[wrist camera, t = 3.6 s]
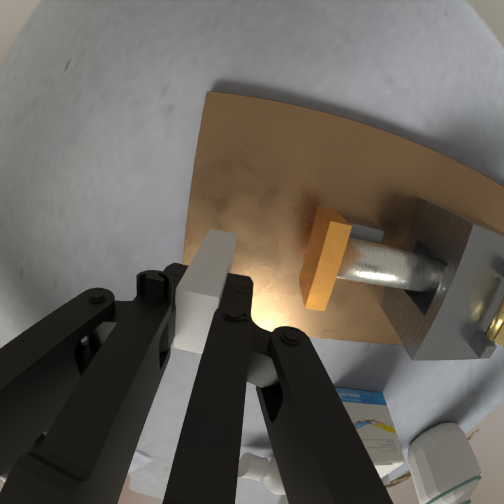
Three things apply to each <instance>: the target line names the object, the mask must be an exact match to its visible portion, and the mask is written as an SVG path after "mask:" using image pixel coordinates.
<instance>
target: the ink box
mask: <svg viewBox="0 0 504 504" xmlns="http://www.w3.org/2000/svg"><path fill="white" fill-rule="evenodd" d="M335 389H336V391H337V393H338V395H339V397H340V399H341V401H342V403H343V405H344V407H345V408H346V410H347V412H348V414H349V416H350V418H351V420H352V422H353V424H354V426H355V428H356V430H357V432H358V434H359V436H360V438H361V440H362V442H363V444H364V446H365V448H366V450H367V452H368V454H369V456H370V458H371V460H372V462H373V464H374V466H375V468H376V470H377V472H378V474H379V476H380V478H382V477H384V476H385V475H387V474H388V473H390V472H391V471H393V470H394V469H396V468H397V467H398V466H400V465H401V464H403V463H404V456H403V453H402V450H401V446H400V443H399V440H398V437H397V434H396V431H395V428H394V424H393V422H392V419H391V416H390V413H389V410H388V407H387V404H386V402H385V399H384V396H383V393H382V392H371V391H363V390H355V389H347V388H338V387H335Z"/></svg>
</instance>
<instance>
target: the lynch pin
mask: <svg viewBox="0 0 504 504" xmlns="http://www.w3.org/2000/svg"><path fill="white" fill-rule="evenodd" d="M351 228H352V225H351V224H350V223H349V222H348V221H347V220H346V219H345V218H344V217H343V216H342V215H341V214H340V213H339V212H338V211H337V210H334V209H330V208H325V207H321V206H318V207H317V212H316V216H315V220H314V224H313V228H312V232H311V235H310V239H309V243H308V247H307V251H306V254H305V258H304V262H303V266H302V269H301V273H300V276H299V280H298V281H299V285H300V290H301V294H302V298H303V303H304V307H305V308H306V309H312V310H319V311H325V309H326V306H327V303H328V301H329V298H330V295H331V292H332V289H333V286H334V283H335V280H336V278H341V279H347V280H353V281H359V282H365V283H371V284H377V285H383V286H389V287H395V288H401V289H407V290H413V291H419V292H425V293H431V294H436V291H437V289H438V287H439V284H440V282H441V280H442V277H443V275H444V272H445V270H446V267H447V265H448V263H447V262H446V261H445V260H444V259H440V258H436V257H432V256H428V255H424V254H420V253H416V252H412V251H407V250H403V249H399V248H395V247H390V246H386V245H382V244H377V243H373V242H368V241H364V240H359V239H355V238H350V237H349V235H350V232H351Z"/></svg>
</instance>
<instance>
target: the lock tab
mask: <svg viewBox="0 0 504 504" xmlns="http://www.w3.org/2000/svg"><path fill="white" fill-rule="evenodd" d="M484 335H485V337H486V338H487V339H489V340H491V341H495V342H497V343H498V344H500V345H501V346H503V347H504V297H503V299H502V301H501V303H500V305H499V307H498V309H497V311H496V313H495V315H494V317H493V319H492V321H491V323H490V325H489V326H488V328H487V330H486V332H485V334H484Z"/></svg>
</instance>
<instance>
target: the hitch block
mask: <svg viewBox="0 0 504 504" xmlns="http://www.w3.org/2000/svg"><path fill="white" fill-rule="evenodd" d="M318 206H321V207H325V208H330V209H334V210H337V211H338V212H339V213H340V214H341V215H342V216H343V217H344V218H345V219H346V220H347V221H348V222H349V223H350V224H351V225H352V228H351V232H350V235H349V237H350V238H355V239H359V240H364V241H368V242H373V243H377V244H382V245H386V246H390V247H395V248H399V249H403V250H407V251H412V252H416V253H420V254H424V255H428V256H432V257H436V258H440V259H444V260H445V261H446V262H447V263H448V265H447V267H446V270H445V272H444V275H443V277H442V280H441V282H440V284H439V287H438V289H437V291H436V294H431V293H425V292H419V291H413V290H407V289H401V288H395V287H389V286H383V285H377V284H371V283H365V282H359V281H353V280H347V279H341V278H336V280H335V283H334V286H333V289H332V292H331V295H330V298H329V301H328V303H327V306H326V309H325V311H319V310H312V309H306V308H305V307H304V303H303V298H302V294H301V290H300V285H299V281H298V280H299V276H300V273H301V269H302V266H303V262H304V258H305V254H306V251H307V247H308V243H309V239H310V235H311V232H312V228H313V224H314V220H315V216H316V212H317V207H318ZM210 229H214V230H219V231H225V232H230V233H236V234H238V235H237V241H236V247H235V253H234V259H233V265H232V270H231V273H234V274H239V275H245V276H250V277H251V279H252V281H253V282H254V287H253V298H252V309H251V317H252V320H253V321H254V322H255V323H256V324H257V325H258V326H259V327H261V328H263V329H265V330H268V331H273V330H274V329H275V328H277V327H279V326H291V327H295V328H298V329H300V330H301V331H303V332H304V333H306V335H307V336H310V337H319V338H327V339H337V340H347V341H357V342H369V343H382V344H398V345H404V347H405V348H406V350H407V352H408V354H409V356H410V357H411V359H412V360H464V359H482V358H490V357H491V355H492V353H493V352H494V350H495V349H496V347H497V346H496V345H495V341H491V340H489V339H487V338H486V337H485V335H484V334H485V332H486V330H487V328H488V326H489V325H490V323H491V321H492V319H493V317H494V315H495V313H496V311H497V309H498V307H499V305H500V303H501V301H502V299H503V297H504V187H503V186H502V185H500V184H498V183H496V182H495V181H493V180H491V179H490V178H488V177H486V176H484V175H482V174H481V173H479V172H477V171H475V170H473V169H471V168H469V167H467V166H465V165H463V164H461V163H459V162H457V161H455V160H453V159H451V158H449V157H447V156H445V155H443V154H440V153H438V152H436V151H434V150H431V149H429V148H427V147H424V146H422V145H420V144H417V143H415V142H412V141H410V140H407V139H405V138H402V137H400V136H397V135H394V134H392V133H389V132H386V131H383V130H380V129H378V128H375V127H372V126H369V125H366V124H362V123H359V122H356V121H353V120H350V119H346V118H343V117H339V116H336V115H332V114H328V113H325V112H321V111H317V110H313V109H309V108H305V107H300V106H296V105H291V104H286V103H282V102H277V101H271V100H266V99H260V98H254V97H248V96H242V95H235V94H227V93H219V92H210V91H207V93H206V98H205V104H204V109H203V114H202V120H201V125H200V131H199V137H198V143H197V149H196V156H195V162H194V169H193V176H192V183H191V191H190V198H189V206H188V215H187V223H186V233H185V242H184V253H183V265H188V266H189V265H190V263H191V261H192V260H193V258H194V256H195V254H196V253H197V251H198V249H199V248H200V246H201V244H202V242H203V241H204V239H205V237H206V236H207V234H208V232H209V231H210Z"/></svg>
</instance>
